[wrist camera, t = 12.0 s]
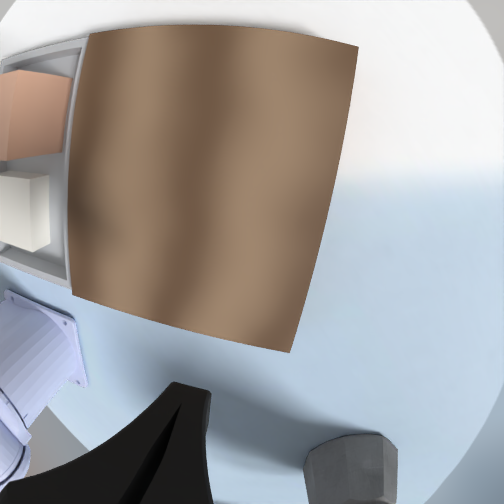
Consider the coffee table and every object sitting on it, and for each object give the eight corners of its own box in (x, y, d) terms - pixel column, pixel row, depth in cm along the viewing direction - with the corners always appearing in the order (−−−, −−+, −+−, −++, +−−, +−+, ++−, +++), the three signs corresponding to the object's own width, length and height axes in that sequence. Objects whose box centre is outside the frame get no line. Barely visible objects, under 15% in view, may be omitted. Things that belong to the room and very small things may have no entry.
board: (92, 279, 20) (72, 294, 17) (112, 43, 14) (89, 33, 12) (290, 328, 19) (289, 352, 16) (349, 60, 13) (358, 46, 11)
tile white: (32, 252, 17) (50, 243, 19) (29, 179, 15) (49, 174, 17) (-6, 238, 17) (11, 231, 19) (-9, 174, 15) (9, 170, 17)
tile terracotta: (62, 152, 16) (42, 151, 16) (72, 78, 15) (52, 80, 15) (6, 160, 12) (-11, 159, 12) (18, 69, 10) (-1, 74, 10)
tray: (10, 251, 20) (-6, 259, 18) (18, 62, 15) (1, 60, 13) (90, 278, 20) (74, 290, 18) (109, 43, 14) (92, 36, 12)
